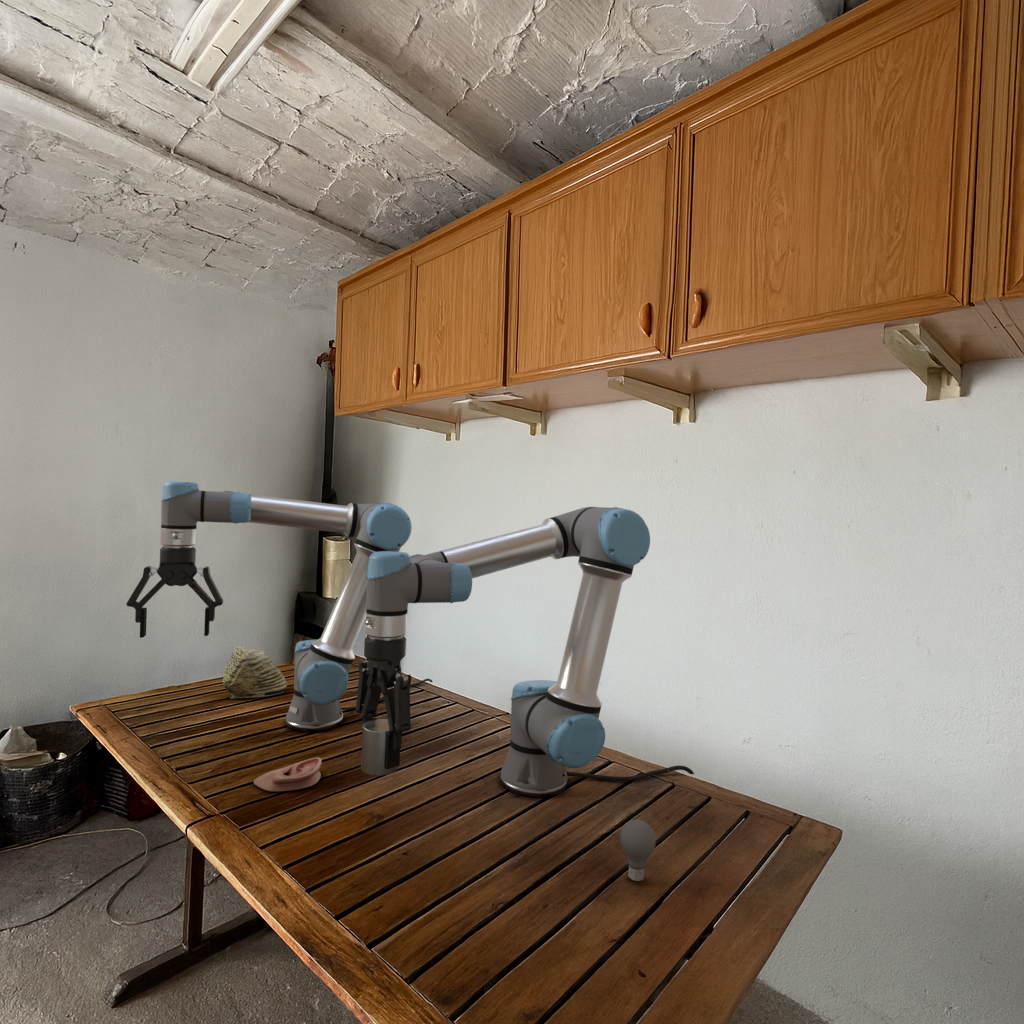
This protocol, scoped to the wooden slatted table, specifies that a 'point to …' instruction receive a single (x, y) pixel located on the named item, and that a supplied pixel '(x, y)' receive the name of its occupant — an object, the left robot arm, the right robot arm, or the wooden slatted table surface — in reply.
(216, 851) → the wooden slatted table surface
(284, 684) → the fossil
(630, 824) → the light bulb
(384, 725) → the can
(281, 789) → the anatomical model
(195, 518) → the left robot arm
